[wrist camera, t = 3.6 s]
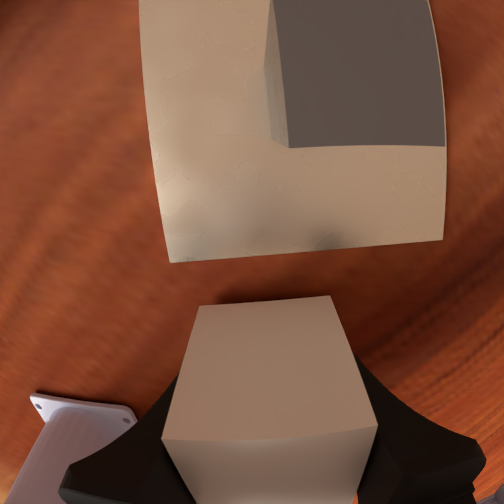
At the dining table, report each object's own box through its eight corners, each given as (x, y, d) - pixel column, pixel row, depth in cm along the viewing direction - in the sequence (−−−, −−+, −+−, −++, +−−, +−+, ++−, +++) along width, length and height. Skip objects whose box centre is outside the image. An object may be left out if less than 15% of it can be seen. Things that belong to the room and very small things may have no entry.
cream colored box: (326, 387, 14) (351, 505, 8) (219, 395, 15) (204, 514, 9) (329, 295, 13) (378, 425, 6) (199, 305, 13) (161, 438, 7)
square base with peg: (437, 235, 12) (544, 322, 6) (173, 257, 13) (104, 378, 6) (418, -16, 8) (517, -83, 2) (142, -9, 9) (50, -96, 2)
